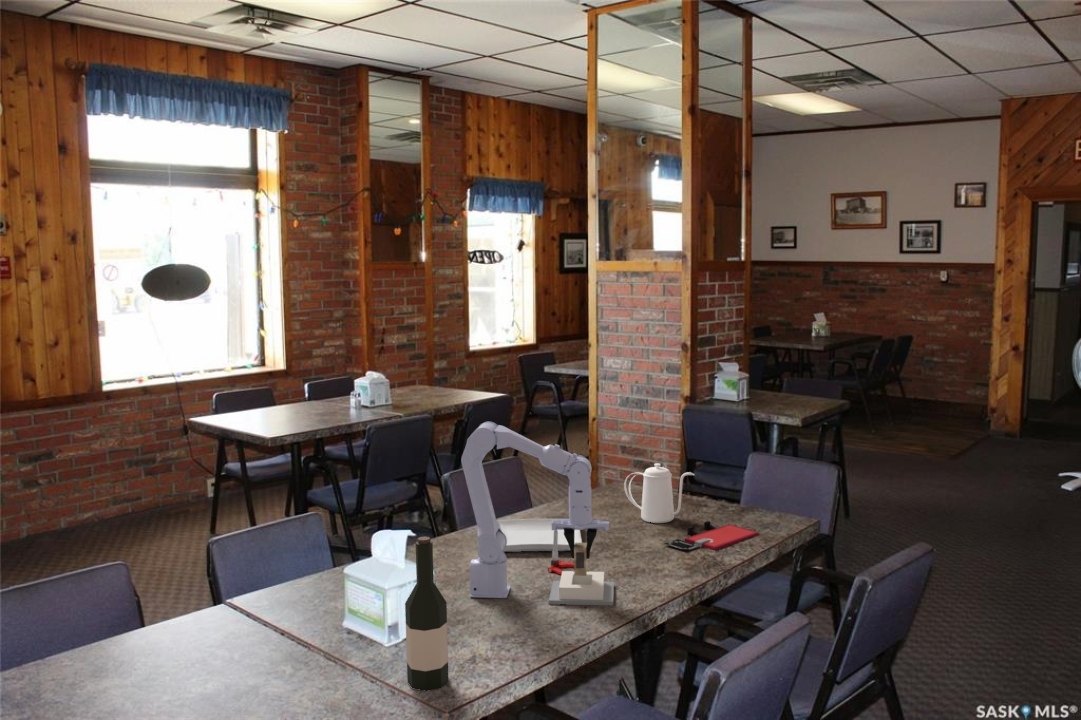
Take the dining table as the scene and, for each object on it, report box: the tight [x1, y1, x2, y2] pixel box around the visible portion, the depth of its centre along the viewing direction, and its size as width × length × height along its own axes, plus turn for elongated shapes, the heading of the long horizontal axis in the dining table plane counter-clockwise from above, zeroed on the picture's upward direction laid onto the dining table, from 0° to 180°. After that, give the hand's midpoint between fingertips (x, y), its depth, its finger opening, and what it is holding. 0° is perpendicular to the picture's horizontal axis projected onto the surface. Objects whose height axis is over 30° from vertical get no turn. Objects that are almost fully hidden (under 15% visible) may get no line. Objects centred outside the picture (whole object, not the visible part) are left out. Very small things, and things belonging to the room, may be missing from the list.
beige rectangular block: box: [573, 542, 588, 576], centre depth 227 cm, size 3×5×7 cm, turn 174°
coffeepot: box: [623, 462, 695, 524], centre depth 294 cm, size 11×25×19 cm, turn 58°
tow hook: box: [547, 529, 574, 576], centre depth 246 cm, size 8×13×9 cm
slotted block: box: [548, 570, 615, 607], centre depth 228 cm, size 16×14×4 cm
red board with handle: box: [663, 520, 760, 551], centre depth 272 cm, size 30×3×15 cm
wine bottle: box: [404, 536, 449, 692], centre depth 180 cm, size 8×8×30 cm
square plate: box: [496, 518, 583, 553], centre depth 273 cm, size 27×27×4 cm
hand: (580, 557), depth 227 cm, fingers closed on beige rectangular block, 3 cm apart
